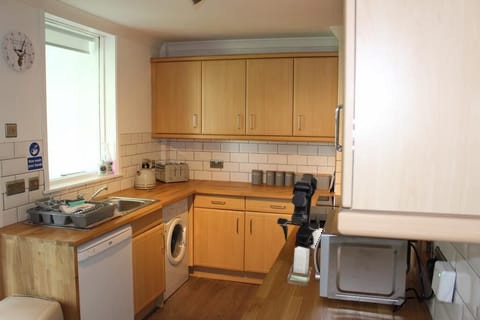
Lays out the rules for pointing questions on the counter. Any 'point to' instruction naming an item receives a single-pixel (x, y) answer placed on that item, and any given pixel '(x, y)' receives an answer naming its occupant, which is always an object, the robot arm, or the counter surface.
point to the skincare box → (301, 260)
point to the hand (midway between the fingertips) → (296, 242)
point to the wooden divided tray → (299, 277)
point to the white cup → (316, 236)
